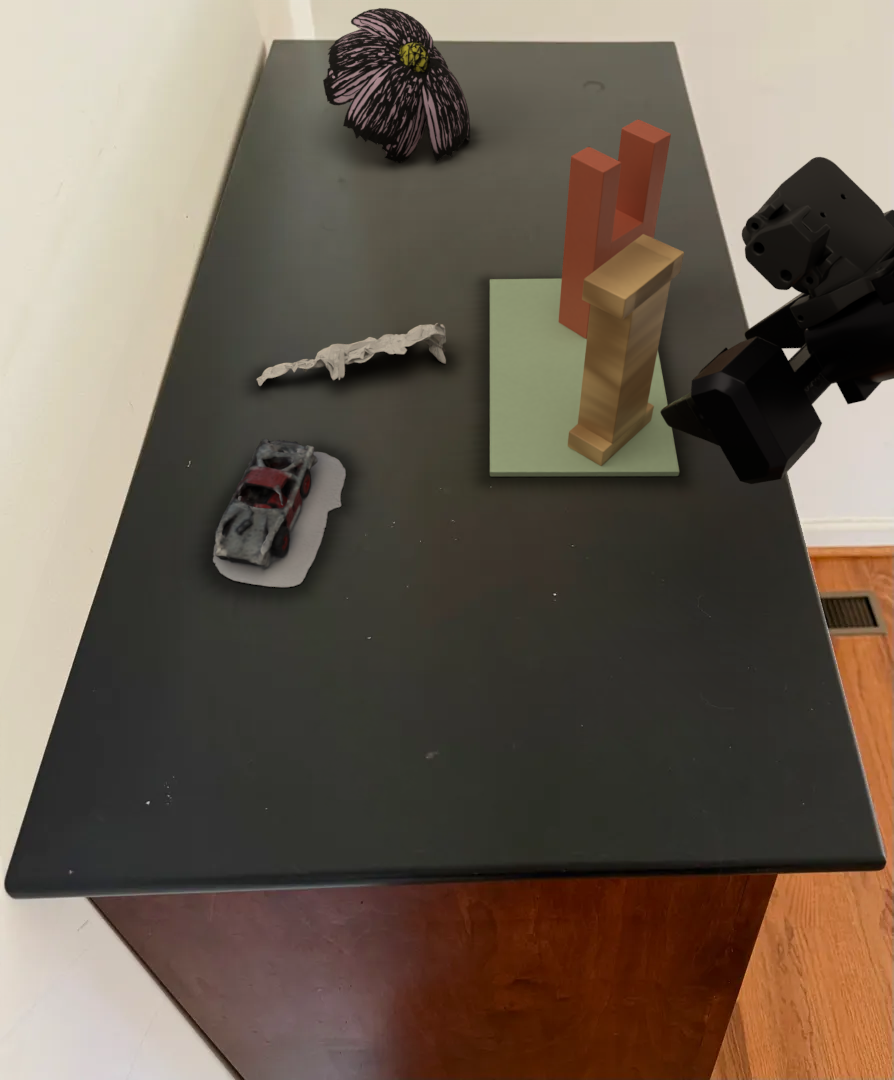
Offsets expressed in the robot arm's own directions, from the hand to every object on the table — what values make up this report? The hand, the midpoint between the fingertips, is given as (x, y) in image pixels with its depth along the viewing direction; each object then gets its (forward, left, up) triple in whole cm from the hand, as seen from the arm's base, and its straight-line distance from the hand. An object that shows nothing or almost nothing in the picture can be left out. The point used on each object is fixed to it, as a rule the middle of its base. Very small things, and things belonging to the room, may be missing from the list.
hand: (708, 376), depth 55 cm
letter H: (+10, -15, -9) cm, 21 cm away
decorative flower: (+37, -36, -10) cm, 53 cm away
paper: (+26, -2, -10) cm, 28 cm away
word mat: (+10, -8, -9) cm, 16 cm away
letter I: (+6, -2, -9) cm, 11 cm away
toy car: (+24, +13, -10) cm, 29 cm away
